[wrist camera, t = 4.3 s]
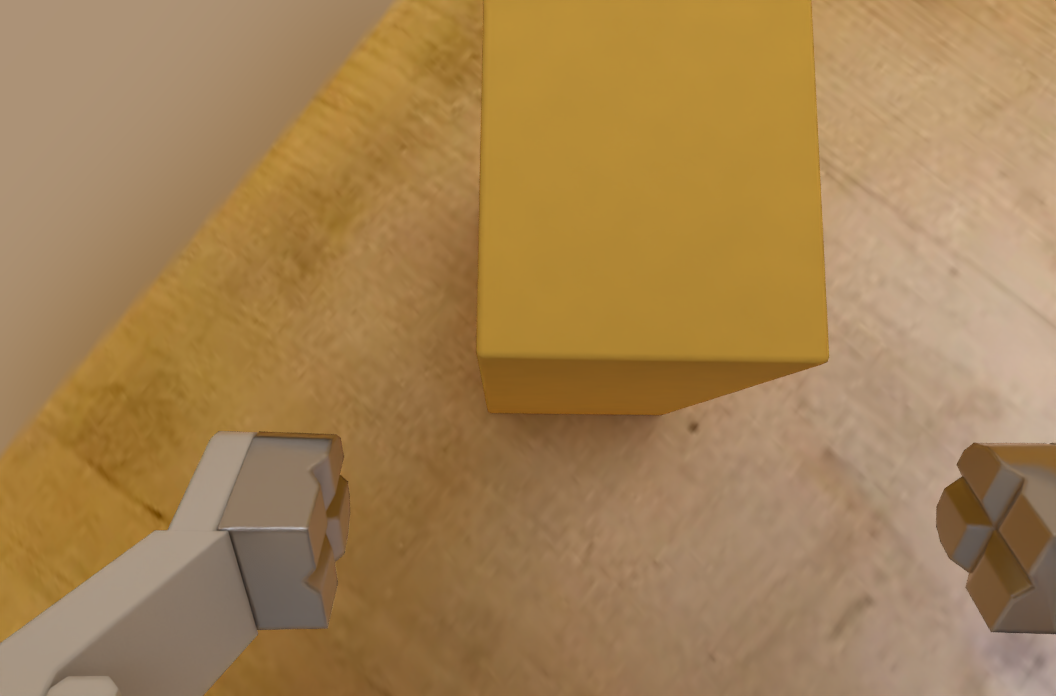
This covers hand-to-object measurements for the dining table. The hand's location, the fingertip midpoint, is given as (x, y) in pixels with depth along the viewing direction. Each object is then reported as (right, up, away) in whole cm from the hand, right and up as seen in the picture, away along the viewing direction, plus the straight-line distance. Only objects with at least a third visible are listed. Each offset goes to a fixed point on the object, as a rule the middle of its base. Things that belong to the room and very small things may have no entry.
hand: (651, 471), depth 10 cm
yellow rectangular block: (0, +3, +10) cm, 10 cm away
